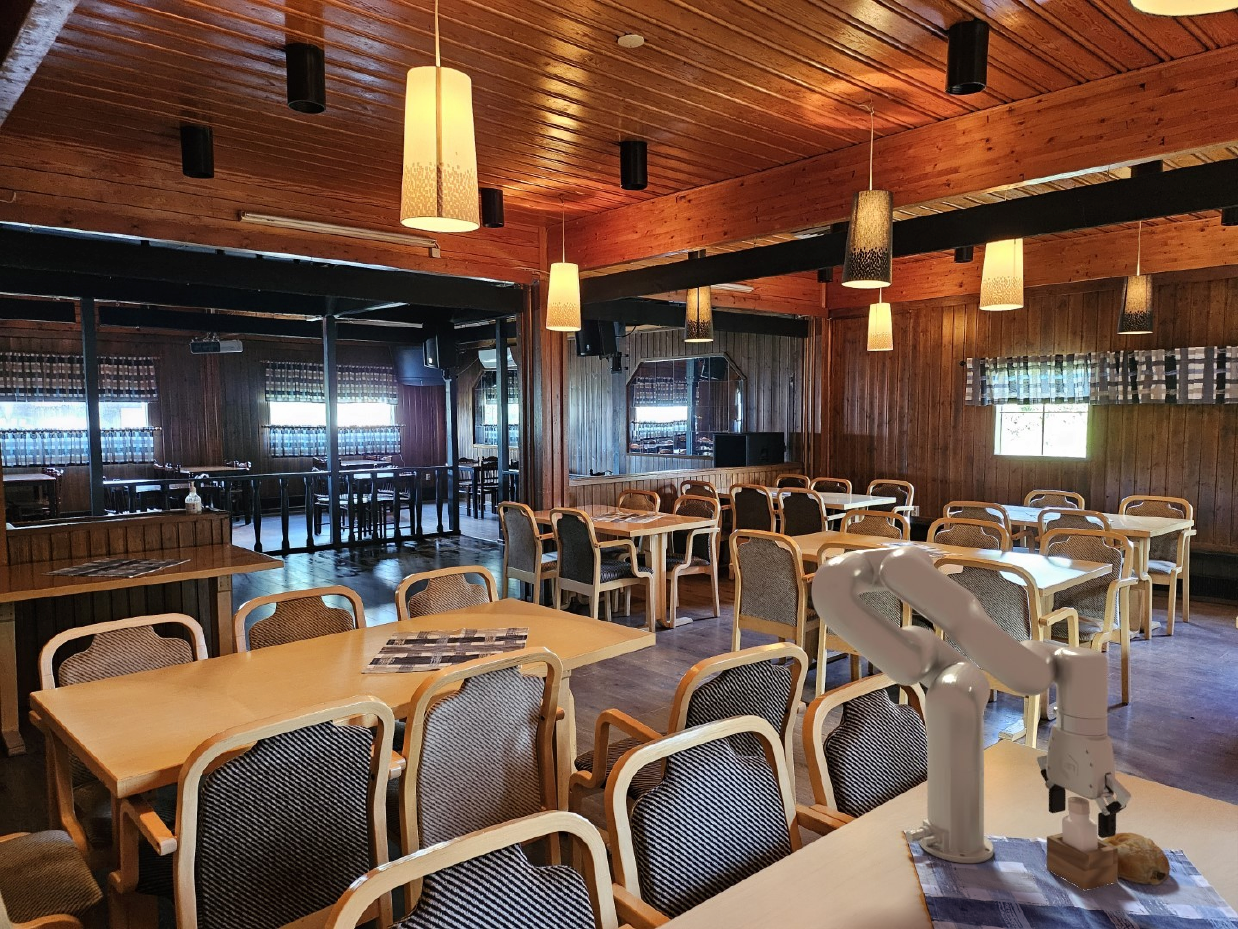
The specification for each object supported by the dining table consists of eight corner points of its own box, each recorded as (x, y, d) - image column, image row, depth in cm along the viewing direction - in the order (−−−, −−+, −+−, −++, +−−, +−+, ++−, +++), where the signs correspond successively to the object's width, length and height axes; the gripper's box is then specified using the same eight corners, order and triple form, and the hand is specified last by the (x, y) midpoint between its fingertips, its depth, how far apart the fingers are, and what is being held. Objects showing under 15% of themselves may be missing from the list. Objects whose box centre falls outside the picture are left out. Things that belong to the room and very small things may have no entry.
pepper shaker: (1081, 864, 138) (1079, 807, 138) (1061, 853, 142) (1059, 798, 142) (1099, 859, 139) (1097, 803, 139) (1079, 848, 143) (1077, 794, 143)
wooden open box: (1084, 893, 136) (1084, 856, 136) (1046, 871, 143) (1046, 836, 143) (1117, 884, 138) (1117, 848, 138) (1079, 863, 145) (1079, 829, 145)
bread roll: (1133, 908, 137) (1155, 874, 134) (1079, 857, 145) (1099, 824, 142) (1168, 893, 142) (1190, 860, 139) (1114, 844, 150) (1134, 812, 147)
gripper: (1023, 710, 147) (1023, 806, 147) (1111, 743, 131) (1110, 851, 131) (1055, 705, 149) (1055, 799, 150) (1145, 736, 133) (1145, 842, 134)
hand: (1081, 823), depth 140 cm, fingers open, 9 cm apart
